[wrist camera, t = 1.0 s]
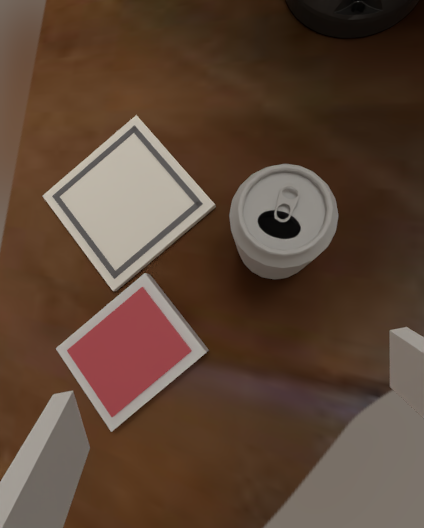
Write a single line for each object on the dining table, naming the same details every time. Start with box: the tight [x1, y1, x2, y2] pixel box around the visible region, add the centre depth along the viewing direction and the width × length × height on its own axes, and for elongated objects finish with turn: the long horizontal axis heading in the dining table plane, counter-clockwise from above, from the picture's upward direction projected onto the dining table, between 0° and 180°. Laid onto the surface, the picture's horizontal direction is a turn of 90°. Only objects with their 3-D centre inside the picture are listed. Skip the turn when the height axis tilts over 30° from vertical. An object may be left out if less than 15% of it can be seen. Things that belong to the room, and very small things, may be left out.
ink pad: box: [56, 273, 209, 432], centre depth 32 cm, size 12×10×2 cm
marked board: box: [43, 115, 216, 291], centre depth 35 cm, size 14×14×1 cm
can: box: [229, 164, 338, 279], centre depth 26 cm, size 8×8×12 cm
